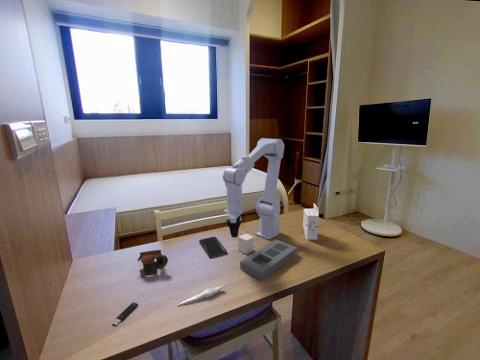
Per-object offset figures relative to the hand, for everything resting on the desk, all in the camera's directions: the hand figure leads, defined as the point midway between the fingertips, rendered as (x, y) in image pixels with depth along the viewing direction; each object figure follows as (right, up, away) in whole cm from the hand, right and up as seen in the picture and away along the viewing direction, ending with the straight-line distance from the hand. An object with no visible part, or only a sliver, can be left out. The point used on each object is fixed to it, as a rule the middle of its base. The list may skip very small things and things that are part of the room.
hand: (235, 232), depth 95 cm
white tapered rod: (-10, -16, -21) cm, 28 cm away
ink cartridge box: (+34, -5, +17) cm, 38 cm away
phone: (-10, -9, +8) cm, 15 cm away
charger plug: (+4, -8, +5) cm, 11 cm away
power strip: (+13, -10, -3) cm, 17 cm away
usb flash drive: (-30, -18, -27) cm, 44 cm away
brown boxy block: (-29, -12, -7) cm, 32 cm away
